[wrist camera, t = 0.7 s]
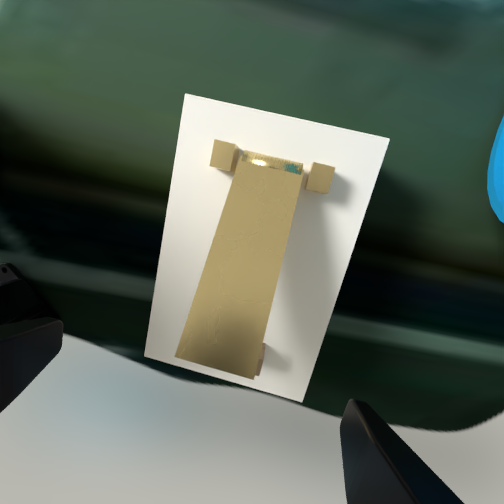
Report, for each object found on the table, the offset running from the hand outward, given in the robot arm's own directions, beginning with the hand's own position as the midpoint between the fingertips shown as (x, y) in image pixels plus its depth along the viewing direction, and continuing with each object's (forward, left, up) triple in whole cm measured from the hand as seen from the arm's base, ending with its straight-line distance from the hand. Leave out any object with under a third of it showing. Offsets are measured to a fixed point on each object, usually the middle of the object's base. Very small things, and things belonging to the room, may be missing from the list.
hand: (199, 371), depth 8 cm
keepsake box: (+1, +1, -12) cm, 12 cm away
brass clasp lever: (+2, +1, -5) cm, 6 cm away
